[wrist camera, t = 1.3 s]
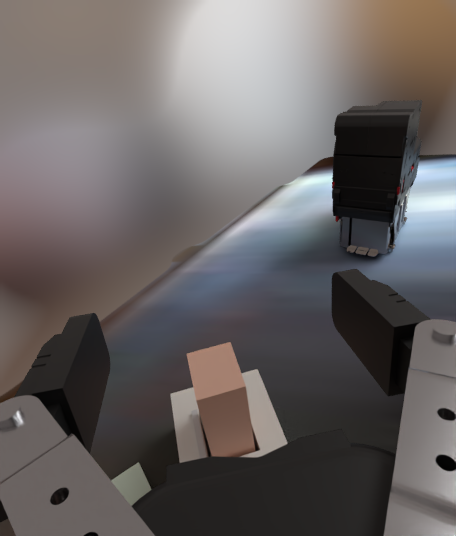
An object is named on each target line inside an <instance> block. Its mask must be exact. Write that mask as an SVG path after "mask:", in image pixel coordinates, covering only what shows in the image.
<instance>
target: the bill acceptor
mask: <svg viewBox="0 0 456 536" xmlns="http://www.w3.org/2000/svg"><path fill="white" fill-rule="evenodd" d="M421 105H422V100H420V101H419V100H417V101H383V102H381V103H380V104H378V105H376V106H353V107H352V108H350V109H349V110H348V111H347V112H343V113H341V114H339V115H338V116H337V118H336V122H335V129H334V135H335V136H336V142H335V148H334V159H333V178H332V179H333V182H332V188H333V190H332V199H333V216H336V222H337V221H338V220H339V219H341V221H340V246H341V247H345V248H347V252H349V253H354V252H355V250H356V252H355V253H356V254H361V255H366V254H367V252H369V253H368V256H372V257H375V256H376V255H377V254H378V253H380V254H387V252H388V250H389V249H391V252H393V249H394V247H395V244H394V243H395V240H396V238H397V236H398V234H399V231H400V229H401V227H402V224H405V222H406V220H407V217H405V212H407V211H406V209H407V203H408V198H409V193H410V188H411V186H412V185H413V182H414V180H415V178H416V175H417V169H418V163H419V154H420V148H421V139H419V138H418V137H417V131H418V125H419V118H420V112H421ZM361 250H362V251H361Z"/></svg>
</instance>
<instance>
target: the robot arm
mask: <svg viewBox="0 0 456 536" xmlns="http://www.w3.org/2000/svg"><path fill="white" fill-rule="evenodd" d="M332 318H333V322H334V325H335V327H336V329H337V331H338V332H339V333H340V334H341V336H342V337H343V338H344V340H345V341H346V342H347V344H348V345H349V346H350V347H351V349H352V350H353V351H354V353H355V354H356V355H357V357H358V358H359V359H360V361H361V362H362V363H363V364H364V366H365V367H366V368H367V370H368V371H369V372H370V374H371V375H372V376H373V377H374V379H375V380H376V381H377V383H378V384H379V385H380V387H381V388H382V389H383V390H384V392H385V393H386V394H387V396H393V395H398V394H403V393H404V394H405V397H404V404H403V411H402V417H401V424H400V431H399V438H398V445H397V452H396V454H393V453H391V452H389V451H386V450H383V449H380V448H377V447H373V446H369V445H364V444H357V443H349V441H348V439H347V437H346V436H345V434H344V432H343V430H342V429H339V430H334V431H330V432H325V433H320V434H315V435H310V436H306V437H301V438H298V439H296V440H294V441H292V442H290V443H288V444H286V445H284V446H282V447H280V448H278V449H276V450H273V451H271V452H269V453H267V454H265V455H263V456H260V457H218V456H210V457H205V458H201V459H196V460H191V461H186V462H182V463H177V464H172V465H167V469H166V482H164V483H162V484H160V485H159V486H157V487H155V488H154V489H152V490H150V491H149V492H147V493H146V494H145V495H144V496H142V497H141V498H140V499H138V500H137V501H136V502H135V503H134V504H133V505H132V506H131V505H130V504H129V503H128V501H127V500H126V499H125V498H124V496H123V495H122V494H121V493H120V491H119V490H118V489H117V488H116V486H115V485H114V484H113V483H112V481H111V480H110V479H109V478H108V476H107V475H106V474H105V473H104V471H103V470H102V469H101V468H100V466H99V465H98V464H97V463H96V461H95V460H94V459H93V458H92V456H91V455H90V451H91V447H92V442H93V438H94V434H95V430H96V426H97V422H98V418H99V414H100V409H101V405H102V401H103V397H104V393H105V389H106V385H107V380H108V376H109V372H110V357H109V352H108V349H107V345H106V342H105V339H104V336H103V332H102V329H101V326H100V323H99V320H98V317H97V315H96V314H95V313H91V314H85V315H79V316H74V317H70V318H69V320H68V322H67V324H66V326H65V328H64V330H63V332H62V334H57V335H54V336H53V337H52V338H51V339H50V340H49V341H48V342H47V343H45V344H44V346H43V347H42V348H41V350H40V352H39V354H38V356H37V359H35V361H34V363H33V364H32V368H31V369H30V370H29V372H28V373H27V375H26V377H25V379H24V381H23V382H22V384H21V386H20V388H19V390H18V391H17V393H16V395H15V397H14V398H12V399H9V400H7V401H4V402H3V403H1V404H0V522H2V521H4V520H6V519H8V518H9V520H10V523H11V525H12V527H13V529H14V532H15V534H16V536H456V323H455V322H452V321H447V320H437V319H434V320H431V319H430V318H428V317H427V316H426V315H425V314H423V313H422V312H421V311H419V310H418V309H417V308H416V307H414V306H413V305H412V304H411V303H409V302H408V301H406V299H404V298H403V297H402V296H400V295H398V293H397V292H395V291H394V290H393V289H392V288H390V287H389V286H388V285H385V284H383V283H380V282H378V281H375V280H369V279H368V278H367V277H366V276H365V275H363V274H362V273H361V272H360V271H359V270H357V269H352V270H347V271H341V272H335V273H334V274H333V276H332Z"/></svg>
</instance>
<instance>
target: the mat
mask: <svg viewBox="0 0 456 536" xmlns="http://www.w3.org/2000/svg"><path fill="white" fill-rule="evenodd" d="M111 481H112V483H113V484H114V485H115V486H116V488H117V489H118V490H119V491H120V493H121V494H122V495H123V496H124V498H125V499H126V500H127V501H128V503H129V504H130V505H131V506H132V505H133V504H134V503H135V502H136V501H137V500H138V499H140V498H141V497H142V496H144V495H145V494H146V493H147V492H149V491H150V490H152V489H151V487H150V485H149V483H148V481H147V479H146V476H145V474H144V472H143V470H142V468H141V466H140V464H139V462H138V463H137V464H135V465H134V466H132V467H131V468H129V469H128V470H126V471H125V472H123V473H122V474H120V475H119V476H117V477H116V478H114V479H113V480H111Z"/></svg>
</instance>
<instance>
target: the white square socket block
mask: <svg viewBox="0 0 456 536" xmlns="http://www.w3.org/2000/svg"><path fill="white" fill-rule="evenodd" d="M242 377H243V380H244V382H245V385H246V391H247V397H248V404H249V411H250V418H251V425H252V431H253V438H254V445H255V452H253V453H249V454H246V455H243V456H240V457H260V456H263V455H265V454H267V453H269V452H271V451H273V450H276V449H278V448H280V447H282V446H284V445H286V444H288V443H287V441H286V438H285V436H284V433H283V431H282V428H281V426H280V423H279V421H278V419H277V416H276V414H275V411H274V409H273V406H272V404H271V401H270V399H269V396H268V394H267V391H266V389H265V387H264V384H263V382H262V379H261V377H260V374H259V372H258V369H256V370H252V371H249V372H245V373H242ZM171 402H172V409H173V416H174V424H175V431H176V438H177V446H178V453H179V461H180V463H182V462H186V461H191V460H196V459H201V458H205V457H210V456H212V455H211V451H210V448H209V444H208V441H207V437H206V434H205V430H204V426H203V423H202V419H201V416H200V412H199V409H198V405H197V402H196V397H195V392H194V387H193V388H189V389H186V390H182V391H179V392H175V393H172V394H171Z"/></svg>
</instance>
